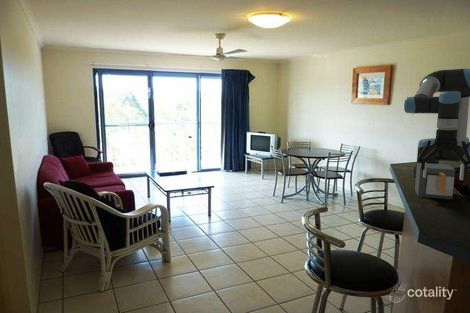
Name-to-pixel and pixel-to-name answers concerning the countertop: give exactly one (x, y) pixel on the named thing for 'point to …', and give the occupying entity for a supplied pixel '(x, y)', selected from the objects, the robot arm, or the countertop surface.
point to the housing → (432, 169)
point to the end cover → (439, 184)
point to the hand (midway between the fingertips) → (442, 178)
